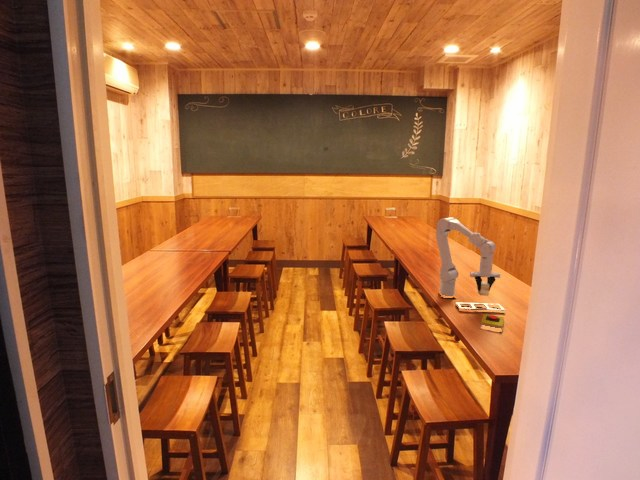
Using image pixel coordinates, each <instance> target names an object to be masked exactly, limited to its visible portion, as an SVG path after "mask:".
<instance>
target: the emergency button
mask: <svg viewBox="0 0 640 480" xmlns="http://www.w3.org/2000/svg"><path fill="white" fill-rule="evenodd" d="M503 323H504V324H505V318H504V317H503V316H497V315H494V314H493V315H492V314H489V313H483V316H482V319H481V322H480V326H481V325H485V326H490V327H495V328H501V329H502V328H503V329H504V326H503Z"/></svg>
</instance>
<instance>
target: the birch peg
mask: <svg viewBox="0 0 640 480" xmlns="http://www.w3.org/2000/svg"><path fill="white" fill-rule="evenodd" d="M489 286H490V284H489V283H487V281H482V282H481V290H480V291H478V290H477V294H479V296H483V297H484V296H485V297H486V296H490V295H489V294H490V291H489Z"/></svg>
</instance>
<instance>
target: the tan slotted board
mask: <svg viewBox="0 0 640 480" xmlns="http://www.w3.org/2000/svg"><path fill="white" fill-rule="evenodd" d="M456 304H457V306H458V307H459V308H460V309H465V310H467V309H468V310H469V309H471V310H501V311H505V312H506V309H505V308H504V307H503V306H502V305H501V304H500V303H483V302H482V303H481V302H480V303H479V302H458V301H457V302H455V305H456ZM460 304H462V305H471V307H472V308H470V307H461V305H460ZM474 305H484V306H485V307H486V308H476V307H475V306H474ZM488 305H498V306H499V307H500V309H497V308H490V307H489V306H488Z"/></svg>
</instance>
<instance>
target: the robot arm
mask: <svg viewBox="0 0 640 480" xmlns="http://www.w3.org/2000/svg"><path fill="white" fill-rule="evenodd" d="M451 231H457V232H459V233H460V234H462V235H463V236H465V237H466V238H467V239H468V241H469V242H470V243H471V244H472V245H474V247H476V248H478V250H479V251H480V263H479V271H477V272H476V271H475V272H470V273H469V277H470V278H474V279H475V282H476V287H477V292H478V291H480V290H481V282H483V279H482V278H486V279H487V280H486V282H487V283H489V284H490V286H489V292H490V290H491V288H492V286H493V284H494V283H495V282H496V278H497V279H500V278H501V273H499V272H492V270H493V263H494V262H493V261H494V252H495V251H496V249H497V244H496V243H495V242H494V241H492V240H489V239H487V238H485V237H483V236H482V234H481V233H480V232H473V231H471V230H470V229H469V228H467V227H466V226H465V225H464V224H462V223H461V222H460V220H458V219H456V218H455V217H454V216H450V217H445V218H444V217H443V218H440V219H439V220H438V221H437V223H436V231H435V237H436V242H437V246H438V247H437V248H438V252H439V256H440V261H441V266H440V268H439V272H440V273H439V278H440V280H441V281H440V285H439V292H440V291H441V294H442V295H445V296H453V295H455V292H456V280H457V278H458V277H459V271H458V269H457V267H456V265H455V264H454V263H453V259H452V254H451V250H450V246H449V245H450V244H449V241H448V240H449V239H448V234H449V233H450V232H451Z"/></svg>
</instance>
